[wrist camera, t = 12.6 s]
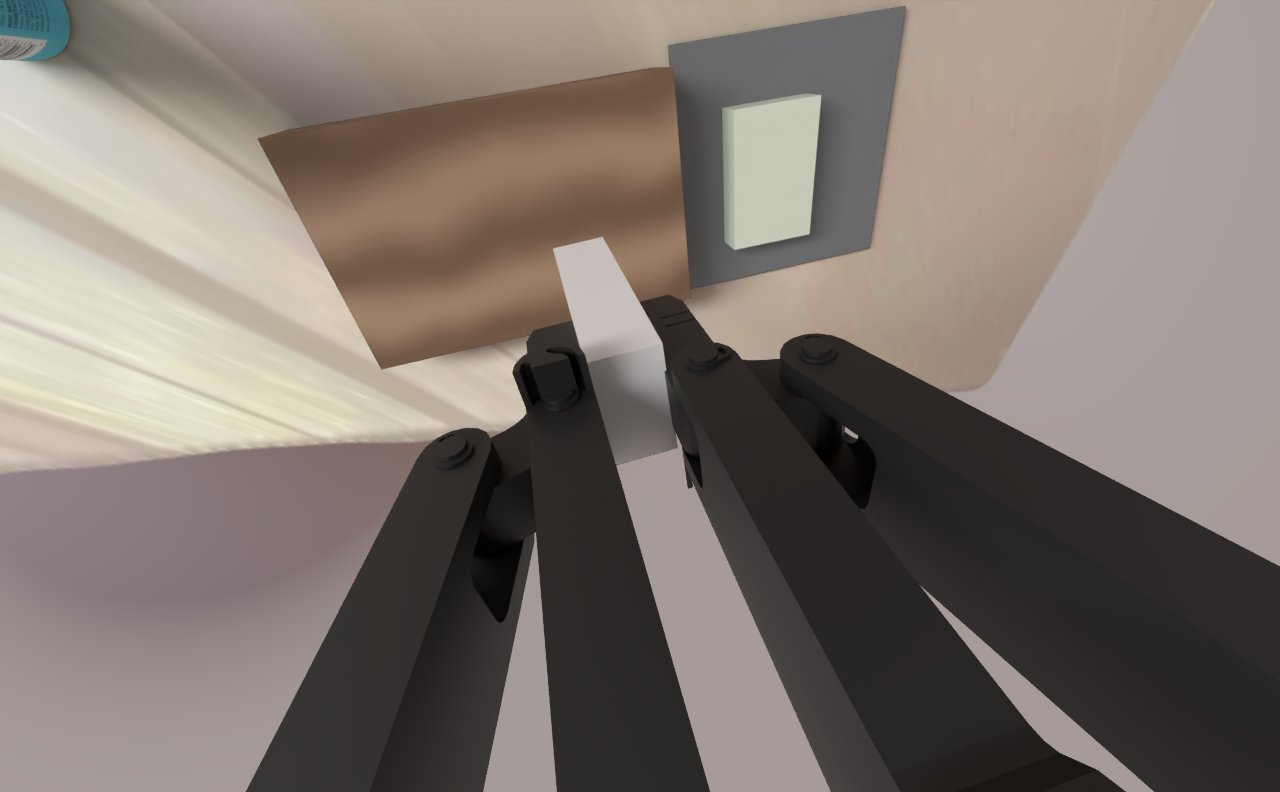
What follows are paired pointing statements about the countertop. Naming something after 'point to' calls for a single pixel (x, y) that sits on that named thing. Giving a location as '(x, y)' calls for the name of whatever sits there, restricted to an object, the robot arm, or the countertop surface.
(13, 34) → the tube
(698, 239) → the mat
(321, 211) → the board
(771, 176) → the pale green block
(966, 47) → the countertop surface
